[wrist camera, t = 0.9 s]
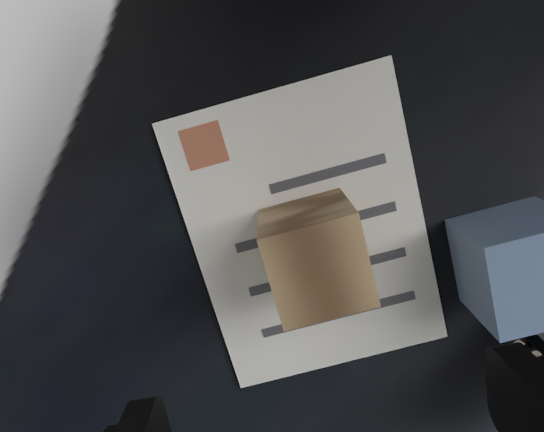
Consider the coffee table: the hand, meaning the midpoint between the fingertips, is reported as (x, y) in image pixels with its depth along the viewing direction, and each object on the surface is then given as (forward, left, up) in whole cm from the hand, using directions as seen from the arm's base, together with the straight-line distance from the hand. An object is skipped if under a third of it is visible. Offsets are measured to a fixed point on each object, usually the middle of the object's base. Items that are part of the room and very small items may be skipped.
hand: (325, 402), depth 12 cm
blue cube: (-12, +5, -18) cm, 22 cm away
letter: (-1, +1, -18) cm, 18 cm away
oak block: (-1, +1, -17) cm, 17 cm away
